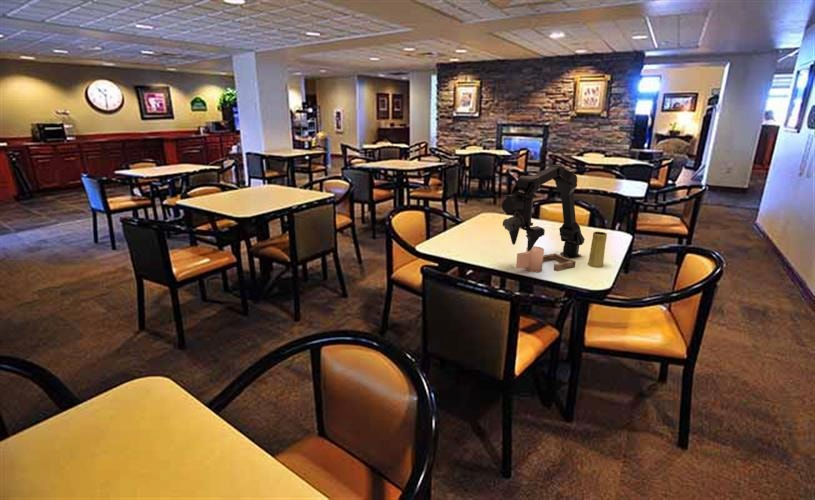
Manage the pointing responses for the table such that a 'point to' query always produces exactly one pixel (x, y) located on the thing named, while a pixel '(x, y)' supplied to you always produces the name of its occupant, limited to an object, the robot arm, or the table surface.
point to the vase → (597, 249)
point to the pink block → (531, 259)
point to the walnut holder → (563, 264)
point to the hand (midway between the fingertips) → (521, 247)
